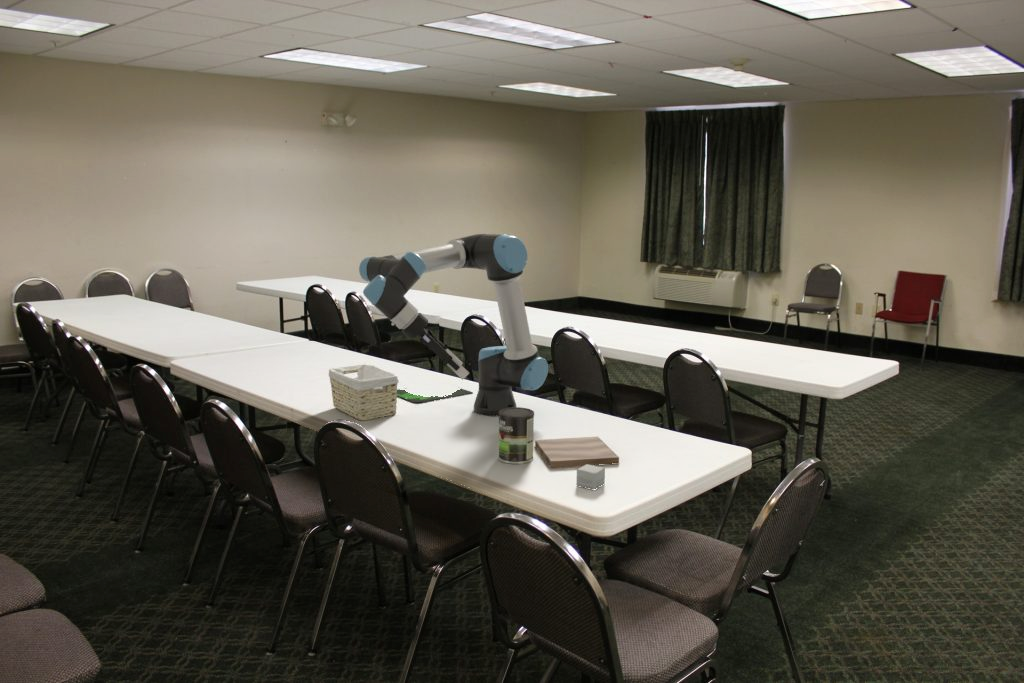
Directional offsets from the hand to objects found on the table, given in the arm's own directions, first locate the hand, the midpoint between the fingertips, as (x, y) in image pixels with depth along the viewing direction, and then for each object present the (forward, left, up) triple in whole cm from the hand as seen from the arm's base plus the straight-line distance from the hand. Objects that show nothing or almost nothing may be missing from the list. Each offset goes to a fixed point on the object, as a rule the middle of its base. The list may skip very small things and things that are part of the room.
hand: (462, 371), depth 229 cm
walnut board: (+6, +33, -25) cm, 42 cm away
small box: (+31, +30, -25) cm, 50 cm away
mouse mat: (-76, -2, -26) cm, 80 cm away
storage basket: (-53, -28, -26) cm, 65 cm away
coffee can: (+6, +15, -25) cm, 30 cm away
